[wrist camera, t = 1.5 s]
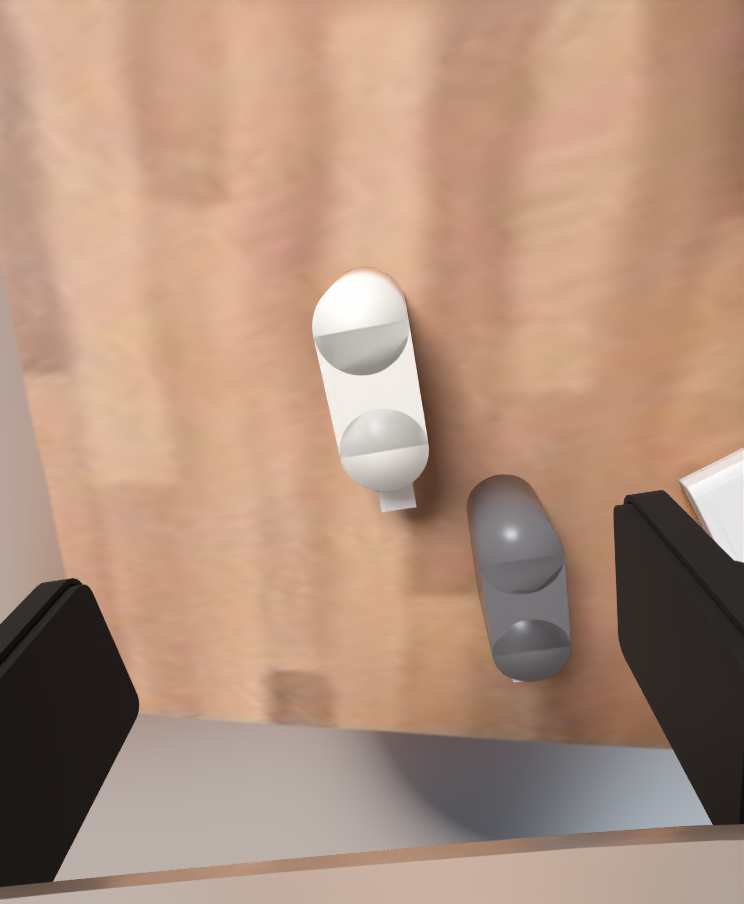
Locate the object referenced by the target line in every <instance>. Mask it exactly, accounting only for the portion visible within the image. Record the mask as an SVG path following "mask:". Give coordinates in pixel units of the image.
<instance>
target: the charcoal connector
mask: <svg viewBox="0 0 744 904" xmlns="http://www.w3.org/2000/svg"><path fill="white" fill-rule="evenodd" d="M467 516H468V523H469V531H470V538H471V545H472V552H473V559H474V566H475V573H476V581H477V588H478V594H479V598H480V603H481V607H482V611H483V616H484V620H485V625H486V629H487V633H488V638H489V642H490V646H491V651H492V655H493V660H494V662H495V664H496V666H497V668H498V669H499V670H500V671H501V672H502V673H503V674H505V675H506V676H508V677H510V678H512V680H513V683H514V682H523V681H539V680H543V679H546V678H549V677H551V676H553V675H554V674H556V673H557V672H559V671H560V670H561V669H562V668H563V667H564V666H565V664H566V663H567V661H568V659H569V657H570V654H571V638H570V624H569V610H568V596H567V582H566V568H565V555H564V549H563V546H562V543H561V541H560V540H559V538H558V536H557V534H556V532H555V530H554V528H553V526H552V524H551V522H550V520H549V518H548V516H547V514H546V513H545V511H544V509H543V507H542V505H541V503H540V501H539V499H538V497H537V495H536V493H535V491H534V489H533V488H532V487H531V486H530V484H529V483H527V482H526V481H525V480H523V479H521V478H519V477H517V476H513V475H496V476H492V477H489V478H487V479H485V480H483V481H482V482H480V483H479V484H478V485H477V486H476V487H475V488H474V489H473V490H472V492H471V494H470V495H469V498H468V501H467Z"/></svg>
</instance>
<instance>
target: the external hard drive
mask: <svg viewBox="0 0 744 904" xmlns="http://www.w3.org/2000/svg"><path fill="white" fill-rule="evenodd" d="M679 482H680V484H681V486H682V488H683V490H684V492H685V494H686V496H687V498H688V500H689V502H690V504H691V506H692V508H693V510H694V512H695V514H696V516H697V518H698V520H699V522H700V524H701V526H702V527H703V529H704V531H705V532H706V533H707V534H708V535H709V536H710V537H711V538H712V539H713V540H714V541H715V542H716V543H717V544H718V545H719V546H720V547H721V548H722V549H723V550H724V551H725V552H726V553H727V554H728V555H729V556H730V557H731V558H732V559H733V560H734V561H740V562H743V563H744V448H742V449H740V450H738V451H736V452H734V453H732V454H730V455H728V456H726V457H724V458H722V459H720V460H718V461H716V462H714V463H712V464H710V465H708V466H706V467H704V468H702V469H700V470H697V471H696V472H694V473H692V474H690V475H688V476H686V477H684V478H682V479H680V480H679Z"/></svg>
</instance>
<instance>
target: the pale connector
mask: <svg viewBox="0 0 744 904" xmlns="http://www.w3.org/2000/svg"><path fill="white" fill-rule="evenodd" d="M312 328H313V337H314V341H315V346H316V350H317V355H318V359H319V364H320V368H321V373H322V377H323V382H324V386H325V391H326V395H327V400H328V404H329V409H330V413H331V418H332V422H333V427H334V431H335V436H336V440H337V445H338V449H339V454H340V458H341V462H342V465H343V467H344V469H345V470H346V472H347V473H348V475H349V476H350V477H351V478H352V479H353V480H354V481H355V482H357V483H358V484H359V485H361V486H363V487H365V488H368V489H371V490H374V491H378V495H379V500H380V505H381V510H382V512H387V511H394V510H401V509H407V508H414V507H416V498H415V493H414V487H413V481H415V480H416V479H417V478H418V477H419V476H420V474H421V473H422V472H423V470H424V468H425V466H426V464H427V461H428V456H429V445H428V438H427V432H426V426H425V419H424V413H423V407H422V401H421V394H420V388H419V382H418V376H417V369H416V363H415V357H414V350H413V344H412V338H411V332H410V325H409V319H408V313H407V307H406V301H405V296H404V294H403V291H402V289H401V287H400V286H399V284H398V283H397V281H396V280H395V279H394V278H393V277H392V276H390V275H389V274H387V273H386V272H384V271H382V270H380V269H376V268H371V267H361V268H356V269H353V270H350V271H348V272H346V273H345V274H343V275H342V276H341V277H340V278H339V279H338V280H337V281H336V282H335V283H334V284H333V285H332V286H331V287H330V288H329V290H328V291H327V292H326V293H325V294H324V295H323V297H322V298H321V299H320V301H319V303H318V305H317V307H316V309H315V312H314V316H313V323H312Z"/></svg>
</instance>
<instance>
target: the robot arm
mask: <svg viewBox="0 0 744 904" xmlns="http://www.w3.org/2000/svg"><path fill="white" fill-rule="evenodd" d="M614 540H615V565H616V590H617V615H618V636H619V642H620V646H621V650H622V653H623V655H624V658H625V660H626V662H627V663H628V665H629V667H630V669H631V671H632V673H633V675H634V677H635V679H636V680H637V682H638V684H639V686H640V688H641V690H642V692H643V694H644V696H645V697H646V699H647V701H648V703H649V705H650V707H651V709H652V711H653V713H654V715H655V716H656V718H657V720H658V722H659V724H660V726H661V728H662V730H663V732H664V733H665V735H666V737H667V739H668V741H669V743H670V745H671V747H672V749H673V750H674V752H675V754H676V756H677V758H678V760H679V762H680V763H681V766H682V767H683V769H684V771H685V773H686V775H687V777H688V779H689V781H690V782H691V784H692V786H693V788H694V790H695V792H696V794H697V796H698V797H699V799H700V801H701V803H702V805H703V807H704V809H705V811H706V813H707V815H708V817H709V818H710V820H711V822H712V824H713V825H702V826H680V827H666V828H653V829H638V830H624V831H611V832H597V833H596V832H595V833H583V834H582V833H581V834H567V835H554V836H541V837H530V838H519V839H508V840H496V841H485V842H474V843H462V844H451V845H440V846H428V847H417V848H405V849H395V850H383V851H371V852H360V853H349V854H339V855H327V856H317V857H306V858H296V859H285V860H274V861H263V862H252V863H242V864H232V865H221V866H210V867H200V868H190V869H179V870H170V871H169V870H168V871H158V872H148V873H137V874H127V875H117V876H106V877H97V878H87V879H77V880H67V881H57V882H53V880H54V878H55V876H56V875H57V873H58V870H59V869H60V867H61V865H62V863H63V861H64V859H65V857H66V855H67V853H68V851H69V849H70V847H71V845H72V843H73V841H74V839H75V837H76V835H77V833H78V831H79V829H80V827H81V826H82V823H83V822H84V820H85V818H86V816H87V814H88V812H89V810H90V808H91V806H92V804H93V802H94V800H95V798H96V796H97V794H98V792H99V790H100V788H101V786H102V785H103V783H104V781H105V779H106V777H107V775H108V773H109V771H110V769H111V767H112V765H113V763H114V761H115V759H116V757H117V755H118V753H119V751H120V749H121V747H122V745H123V743H124V742H125V740H126V738H127V735H128V734H129V732H130V730H131V728H132V726H133V724H134V722H135V720H136V718H137V715H138V711H139V699H138V695H137V693H136V691H135V688H134V686H133V684H132V681H131V679H130V677H129V675H128V672H127V670H126V668H125V665H124V663H123V661H122V659H121V656H120V654H119V652H118V649H117V647H116V645H115V643H114V640H113V638H112V636H111V633H110V631H109V629H108V627H107V624H106V622H105V620H104V617H103V615H102V613H101V611H100V608H99V606H98V604H97V601H96V599H95V597H94V595H93V592H92V591H91V589H90V588H89V587H88V586H87V585H82V583H81V582H80V581H79V580H77V579H74V578H71V579H65V580H58V581H51V582H45V583H41V584H40V585H38V586H37V587H36V588H35V589H34V590H33V591H32V592H31V593H30V594H29V595H28V596H27V597H26V598H25V600H23V601H22V602H21V604H19V605H18V607H17V608H16V609H15V610H14V611H13V612H12V613H11V614H10V615H9V616H8V617H7V618H6V619H5V620H4V621H3V622H2V623H1V624H0V904H744V563H743V562H740V561H734V560H733V559H732V558H731V557H730V556H729V555H728V554H727V553H726V552H725V551H724V550H723V549H722V548H721V547H720V546H719V545H718V544H717V543H716V542H715V541H714V540H713V539H712V538H711V537H710V536H709V535H708V534H707V533H706V532H705V531H704V530H703V529H702V528H701V527H700V526H699V525H698V524H697V523H696V522H695V521H694V520H693V519H692V518H691V517H690V516H689V515H688V514H687V513H686V512H685V511H684V510H683V509H682V508H681V507H680V506H679V505H678V504H677V503H676V502H675V501H674V500H673V499H672V498H671V497H670V496H669V495H668V494H667V493H666V492H665V491H663V490H659V491H652V492H645V493H639V494H632V495H627V496H626V497H625V499H624V505H617V506H615V507H614Z"/></svg>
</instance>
